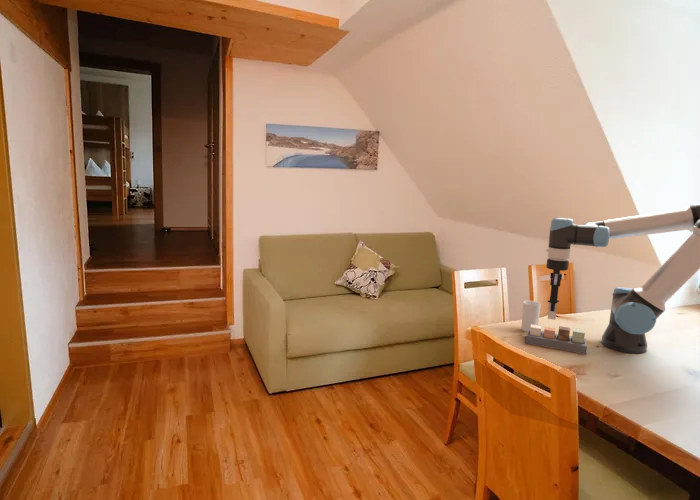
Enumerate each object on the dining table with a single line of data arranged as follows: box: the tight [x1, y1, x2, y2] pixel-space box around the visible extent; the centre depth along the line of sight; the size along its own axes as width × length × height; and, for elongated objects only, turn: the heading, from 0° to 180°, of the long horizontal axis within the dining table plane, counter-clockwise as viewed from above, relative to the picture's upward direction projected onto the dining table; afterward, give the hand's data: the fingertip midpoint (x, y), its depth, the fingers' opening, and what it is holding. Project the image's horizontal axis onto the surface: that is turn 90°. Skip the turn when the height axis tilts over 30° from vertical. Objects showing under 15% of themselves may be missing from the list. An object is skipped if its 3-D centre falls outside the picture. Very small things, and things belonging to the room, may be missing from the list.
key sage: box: [571, 327, 586, 343], centre depth 165 cm, size 4×4×4 cm
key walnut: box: [557, 325, 571, 341], centre depth 167 cm, size 4×4×4 cm
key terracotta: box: [543, 326, 556, 339], centre depth 169 cm, size 4×4×4 cm
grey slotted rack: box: [525, 329, 588, 355], centre depth 169 cm, size 21×9×3 cm, turn 64°
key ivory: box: [530, 324, 542, 336], centre depth 172 cm, size 4×4×4 cm
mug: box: [520, 300, 542, 333], centre depth 185 cm, size 10×7×12 cm, turn 138°
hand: (551, 318), depth 168 cm, fingers closed
